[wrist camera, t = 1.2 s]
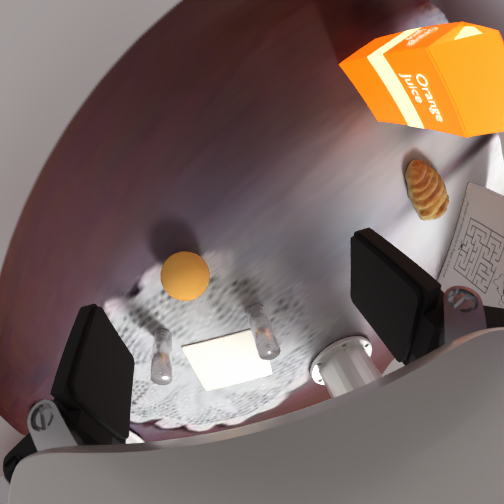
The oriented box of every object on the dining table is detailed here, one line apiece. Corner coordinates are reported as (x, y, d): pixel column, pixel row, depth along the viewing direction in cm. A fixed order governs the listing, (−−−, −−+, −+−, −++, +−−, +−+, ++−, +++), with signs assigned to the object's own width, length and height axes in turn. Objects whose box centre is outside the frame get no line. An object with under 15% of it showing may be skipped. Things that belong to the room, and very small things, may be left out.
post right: (265, 315, 39) (281, 356, 32) (248, 320, 39) (260, 362, 32) (262, 301, 38) (278, 342, 31) (244, 307, 38) (257, 348, 31)
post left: (174, 339, 38) (174, 382, 31) (158, 343, 38) (156, 386, 31) (167, 326, 37) (166, 370, 30) (151, 330, 37) (147, 374, 30)
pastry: (392, 179, 34) (410, 186, 31) (418, 147, 33) (437, 152, 29) (418, 220, 38) (434, 230, 35) (441, 190, 37) (458, 198, 33)
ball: (212, 276, 35) (217, 303, 30) (171, 288, 34) (169, 315, 30) (200, 237, 32) (203, 260, 27) (156, 250, 32) (151, 274, 27)
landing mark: (272, 373, 46) (272, 373, 46) (206, 390, 45) (206, 390, 45) (260, 326, 40) (260, 327, 40) (181, 346, 39) (181, 347, 39)
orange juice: (377, 122, 30) (516, 154, 12) (337, 64, 26) (481, 43, 8) (411, 92, 28) (540, 110, 11) (376, 37, 24) (509, 17, 7)
